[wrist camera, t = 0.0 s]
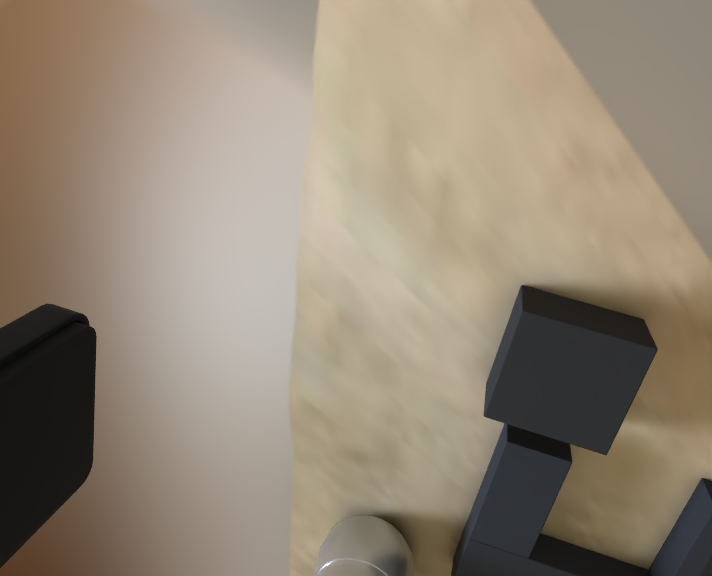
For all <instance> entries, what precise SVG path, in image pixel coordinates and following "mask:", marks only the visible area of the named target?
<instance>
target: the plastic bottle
mask: <svg viewBox="0 0 712 576" xmlns="http://www.w3.org/2000/svg"><path fill="white" fill-rule="evenodd" d="M314 576H413V559H412V554H411V550H410V548H409V546H408V544H407V543H406V541H405V539H404V538H403V536H402V535H401V533H400V532H399V531H398V530H397V529H396V528H395V527H394V526H393V525H391V524H390V523H388V522H386V521H384V520H382V519H380V518H377V517H373V516H367V515H359V516H354V517H350V518H348V519H345V520H343V521H341V522H339V523H338V524H336V525H335V526H334V527H333V528H332V529H331V531H330V532H329V534H328V535H327V537H326V539H325V540H324V542H323V543H322V545H321V547H320V549H319V552H318V556H317V561H316V566H315V571H314Z"/></svg>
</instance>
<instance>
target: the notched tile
mask: <svg viewBox="0 0 712 576" xmlns="http://www.w3.org/2000/svg"><path fill="white" fill-rule="evenodd" d="M571 464H572V457H571V450H570V444H569V443H566V442H563V441H560V440H556V439H553V438H550V437H547V436H544V435H541V434H537V433H534V432H531V431H528V430H525V429H522V428H518V427H515V426H512V425H509V424H506V423H505V424H504V427H503V429H502V432H501V435H500V437H499V440H498V442H497V445H496V448H495V450H494V453H493V455H492V458H491V461H490V463H489V466H488V468H487V471H486V474H485V476H484V479H483V482H482V484H481V487H480V489H479V492H478V495H477V497H476V500H475V502H474V505H473V508H472V511H471V513H470V516H469V518H468V521H467V524H466V526H465V529H464V531H463V534H462V537H461V539H460V542H459V544H458V547H457V550H456V552H455V555H454V557H453V566H452V574H451V576H699V574H700V573H701V571H702V570H703V568H704V567H705V565H706V563H707V562H708V560H709V559H710V557H711V556H712V481H710V480H706V479H703V478H702V479H701V481H700V483H699V484H698V486H697V488H696V489H695V491H694V493H693V495H692V496H691V498H690V500H689V501H688V503H687V505H686V507H685V508H684V510H683V512H682V514H681V515H680V517H679V519H678V520H677V522H676V524H675V526H674V527H673V529H672V531H671V532H670V534H669V536H668V538H667V539H666V541H665V543H664V544H663V546H662V548H661V550H660V551H659V553H658V555H657V557H656V558H655V560H654V562H653V563H652V565H651V567H650V569H649V571H648V570H645V569H642V568H639V567H636V566H633V565H630V564H627V563H624V562H621V561H619V560H616V559H613V558H610V557H607V556H604V555H601V554H598V553H595V552H592V551H589V550H586V549H583V548H580V547H577V546H574V545H571V544H568V543H565V542H563V541H560V540H557V539H554V538H551V537H548V536H545V535H542V534H540V532H541V530H542V528H543V525H544V523H545V521H546V519H547V517H548V515H549V512H550V510H551V508H552V506H553V504H554V501H555V499H556V497H557V495H558V493H559V490H560V488H561V486H562V484H563V482H564V480H565V477H566V475H567V473H568V471H569V469H570V466H571Z"/></svg>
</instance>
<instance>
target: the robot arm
mask: <svg viewBox="0 0 712 576" xmlns="http://www.w3.org/2000/svg"><path fill="white" fill-rule="evenodd" d="M95 367H96V332H95V330H94V328H92V327H90V326H89V321H88V319H87V317H86V316H85V315H83V314H81V313H78V312H75V311H72V310H69V309H66V308H62V307H59V306H56V305H53V304H45V305H42V306H40V307H38V308H37V309H35V310H33V311H31V312H29V313H27V314H26V315H24V316H22V317H20V318H18V319H17V320H15V321H13V322H11V323H9V324H7V325H6V326H4V327H2V328H0V568H1V567H2V566H3V565H4V564H5V563H6V562H7V561H8V560H9V559H10V557H12V556H13V555H14V554H15V553H16V552H17V551H18V550H19V549H20V548H21V546H23V544H24V543H25V542H26V541H27V540H28V539H29V538H30V537H31V536H32V535H33V534H34V533H35V532H36V531H37V530H38V529H39V528H40V527H41V526H42V525H43V524H44V523H45V522H46V521H47V520H48V519H49V518H50V517H51V516H52V515H53V514H54V513H55V512H56V511H57V510H58V509H59V508H60V507H61V506H62V505H63V504H64V503H65V502H66V501H67V500H68V499H69V498H70V497H71V496H72V494H74V493H75V492H76V491H77V489H78V488H79V487H80V486H81V485H82V484H83V483H84V482H85V480H86V479H87V477H88V475H89V473H90V471H91V468H92V463H93V440H94V403H95ZM699 576H712V556H711V557H710V559H709V560H708V562H707V563H706V565H705V567H704V568H703V570H702V571H701V573H700V574H699Z"/></svg>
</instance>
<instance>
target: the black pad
mask: <svg viewBox="0 0 712 576" xmlns="http://www.w3.org/2000/svg"><path fill="white" fill-rule="evenodd" d="M656 352H657V347H656V345H655V342H654V340H653V338H652V336H651V334H650V332H649V330H648V327H647V325H646V323H645V321H644V320H643V319H640V318H636V317H633V316H629V315H626V314H622V313H619V312H615V311H612V310H608V309H605V308H601V307H598V306H594V305H591V304H587V303H583V302H580V301H576V300H573V299H569V298H566V297H562V296H559V295H555V294H552V293H548V292H545V291H541V290H538V289H534V288H530V287H527V286H523V285H522V286H521V287H520V290H519V293H518V296H517V299H516V301H515V304H514V307H513V310H512V313H511V315H510V318H509V321H508V324H507V327H506V330H505V332H504V335H503V338H502V341H501V344H500V346H499V349H498V352H497V355H496V358H495V361H494V363H493V366H492V369H491V372H490V375H489V377H488V380H487V383H486V394H485V406H484V417H487V418H490V419H493V420H496V421H499V422H503V423H506V424H509V425H512V426H515V427H518V428H522V429H525V430H528V431H531V432H534V433H537V434H541V435H544V436H547V437H550V438H553V439H556V440H560V441H563V442H566V443H569V444H572V445H575V446H578V447H582V448H585V449H588V450H591V451H594V452H597V453H601V454H604V455H607V453H608V451H609V449H610V447H611V445H612V443H613V441H614V439H615V437H616V435H617V433H618V431H619V429H620V426H621V424H622V422H623V420H624V418H625V416H626V414H627V412H628V410H629V408H630V406H631V404H632V402H633V400H634V398H635V396H636V393H637V391H638V389H639V387H640V385H641V383H642V381H643V379H644V377H645V375H646V373H647V371H648V369H649V367H650V365H651V362H652V360H653V358H654V356H655V354H656Z"/></svg>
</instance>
